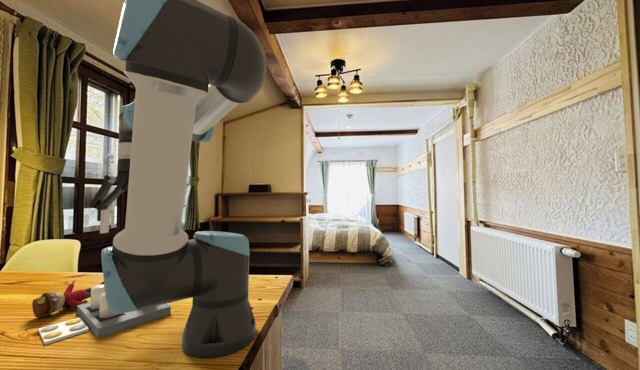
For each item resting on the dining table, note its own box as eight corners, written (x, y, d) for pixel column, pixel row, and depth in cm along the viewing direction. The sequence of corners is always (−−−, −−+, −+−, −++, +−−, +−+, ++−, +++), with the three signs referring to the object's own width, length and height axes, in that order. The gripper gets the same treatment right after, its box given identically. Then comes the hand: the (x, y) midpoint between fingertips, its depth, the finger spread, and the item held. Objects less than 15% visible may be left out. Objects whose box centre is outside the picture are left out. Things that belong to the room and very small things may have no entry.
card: (88, 331, 60) (88, 327, 60) (44, 344, 54) (44, 341, 54) (79, 319, 65) (79, 316, 65) (38, 331, 60) (38, 327, 60)
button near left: (122, 313, 64) (123, 292, 64) (101, 319, 61) (102, 297, 61) (117, 309, 66) (118, 289, 66) (97, 314, 63) (98, 293, 63)
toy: (116, 291, 76) (46, 315, 62) (110, 308, 77) (39, 335, 64) (98, 266, 80) (28, 284, 66) (92, 283, 81) (23, 303, 68)
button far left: (112, 305, 69) (113, 286, 69) (92, 310, 65) (93, 290, 66) (107, 301, 71) (108, 282, 71) (88, 306, 68) (89, 286, 68)
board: (170, 313, 69) (170, 306, 69) (98, 338, 57) (98, 328, 57) (141, 296, 81) (141, 289, 81) (76, 313, 69) (77, 305, 69)
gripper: (183, 162, 83) (182, 229, 81) (93, 160, 78) (89, 231, 76) (175, 158, 75) (174, 232, 74) (75, 156, 70) (71, 235, 69)
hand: (131, 232), depth 75 cm, fingers open, 13 cm apart
